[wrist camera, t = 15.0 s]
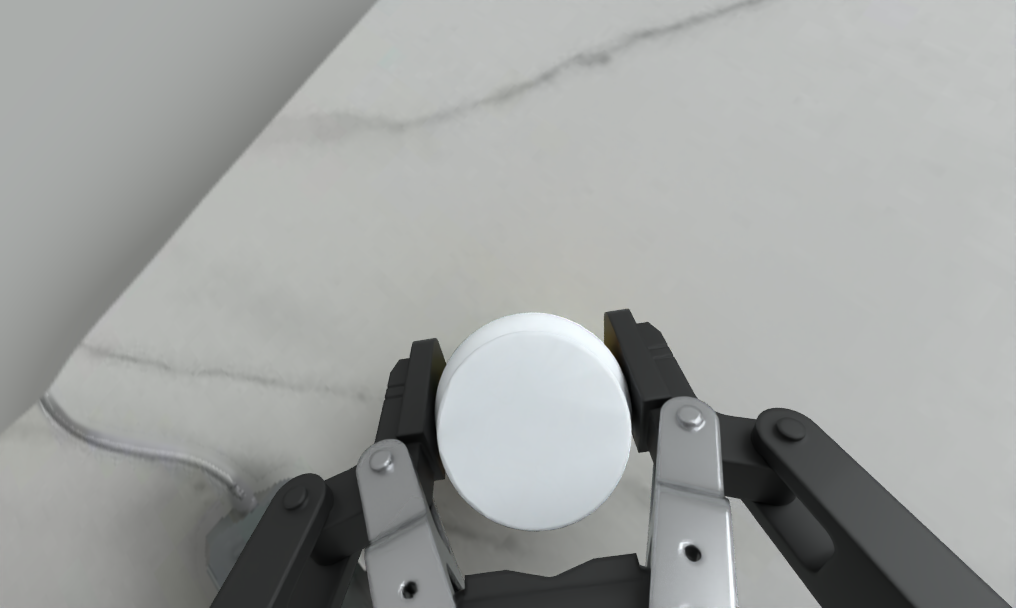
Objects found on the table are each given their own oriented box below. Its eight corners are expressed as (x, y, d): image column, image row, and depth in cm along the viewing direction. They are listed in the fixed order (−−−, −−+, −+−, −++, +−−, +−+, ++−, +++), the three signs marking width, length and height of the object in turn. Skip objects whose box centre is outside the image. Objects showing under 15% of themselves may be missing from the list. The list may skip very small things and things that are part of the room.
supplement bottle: (485, 316, 18) (433, 272, 9) (604, 341, 18) (689, 324, 8) (459, 436, 18) (371, 534, 8) (581, 465, 17) (643, 605, 8)
